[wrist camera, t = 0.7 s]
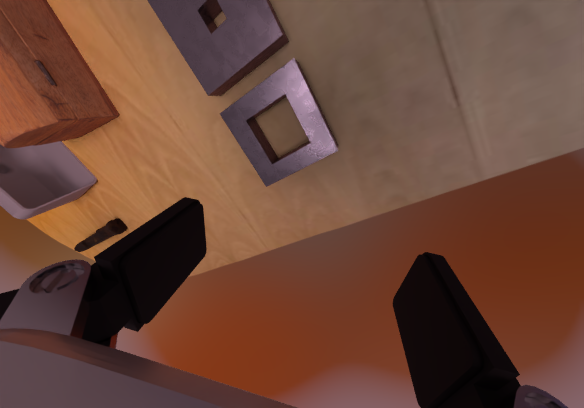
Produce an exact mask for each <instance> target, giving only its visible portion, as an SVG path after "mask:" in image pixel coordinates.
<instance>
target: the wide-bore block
mask: <svg viewBox="0 0 584 408" xmlns="http://www.w3.org/2000/svg"><path fill="white" fill-rule="evenodd" d="M285 97H287V98H288V100H289V102H290V104H291V106H292V108H293V110H294V112H295V114H296V116H297V118H298V119H299V121H300V123H301V125H302V127H303V129H304V131H305V133H306V135H307V137H308V139H309V141H308V142H307V143H305V144H303V145H301V146H299V147H298V148H296V149H294V150H292V151H290V152H289V153H287V154H285V155H283V156H281V157H280V158H278V157H277V156H276V154H275V152H274V151H273V149H272V147H271V145H270V144H269V142H268V140H267V139H266V137H265V135H264V134H263V132H262V130H261V128H260V127H259V125H258V123H257V122H256V120H255V118H256V117H257V116H259V115H260V114H262V113H263V112H265V111H266V110H268V109H269V108H270V107H272V106H273V105H275V104H276V103H278V102H279V101H281V100H282V99H284V98H285ZM220 115H221V116H222V118H223V120H224V121H225V123H226V124H227V126H228V127H229V129H230V131H231V132H232V134H233V135H234V137H235V138H236V140H237V142H238V143H239V145H240V146H241V148H242V149H243V151H244V153H245V154H246V156H247V157H248V159H249V160H250V162H251V164H252V165H253V167H254V168H255V170H256V171H257V173H258V175H259V176H260V178H261V179H262V181H263V182H264V184H265V185H266V187H267V186H269V185H271V184H273V183H275V182H277V181H279V180H281V179H283V178H285V177H287V176H289V175H291V174H293V173H295V172H297V171H299V170H301V169H303V168H304V167H306V166H308V165H310V164H312V163H314V162H316V161H318V160H320V159H322V158H324V157H326V156H328V155H330V154H332V153H334V152H336V151H338V144H337V142H336V140H335V137H334V135H333V133H332V131H331V129H330V127H329V125H328V123H327V121H326V119H325V116H324V114H323V112H322V110H321V108H320V106H319V104H318V102H317V100H316V98H315V95H314V93H313V91H312V89H311V87H310V85H309V83H308V81H307V79H306V76H305V74H304V72H303V70H302V68H301V66H300V64H299V62H298V61H297V60H295V59H294V58H293V59H292V60H291V61H289V62H288V63H287V64H285V65H284V66H283V67H281V68H280V69H279V70H277V71H276V72H275V73H273V74H272V75H271V76H269V77H268V78H267V79H265V80H264V81H263V82H261V83H260V84H259V85H257V86H256V87H255V88H253V89H252V90H251V91H249V92H248V93H247V94H245V95H244V96H243V97H241V98H240V99H239V100H237V101H236V102H235V103H233V104H232V105H231V106H229V107H228V108H227V109H225V110H224V111H223V112H221V113H220Z"/></svg>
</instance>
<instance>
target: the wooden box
mask: <svg viewBox="0 0 584 408" xmlns="http://www.w3.org/2000/svg"><path fill="white" fill-rule="evenodd" d="M118 116H119V114H118V112H117V110H116V109H115V107H114V106H113V104H112V102H111V101H110V99H109V98H108V96H107V94H106V93H105V91H104V90H103V88H102V87H101V85H100V84H99V82H98V80H97V79H96V77H95V76H94V74H93V73H92V71H91V70H90V68H89V66H88V65H87V63H86V62H85V60H84V59H83V57H82V55H81V54H80V52H79V51H78V49H77V48H76V46H75V44H74V43H73V41H72V40H71V38H70V36H69V35H68V33H67V32H66V30H65V29H64V27H63V25H62V24H61V22H60V21H59V19H58V18H57V16H56V15H55V13H54V11H53V10H52V8H51V7H50V5H49V4H48V2H47V0H0V144H1V145H2V146H3V147H5V148H20V147H26V146H32V145H33V146H37V145H43V144H49V143H54V142H58V141H64V140H69V139H74V138H78V137H81V136H83V135H85V134H87V133H89V132H91V131H93V130H94V129H96V128H98V127H100V126H102V125H104V124H106V123H107V122H109V121H111V120H113V119H115V118H117V117H118Z"/></svg>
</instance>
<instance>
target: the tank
mask: <svg viewBox="0 0 584 408" xmlns="http://www.w3.org/2000/svg"><path fill="white" fill-rule="evenodd" d="M0 173H1V174H0V206H2V207H3V208H4V209H5V210H6V211H7V212H9V213H10V214H11V215H12V216H13V217H15V218H18V219H28V218H31V217H33V216H36V215H38V214H41V213H43V212H46V211H48V210H51V209H53V208H56V207H59V206H61V205H64V204H66V203H69V202H71V201H74V200H76V199H78V198H80V197H81V196H82V195H83V194H84V193H85V192H86V191H87V190H88V189H89V188H90V187H91V186H92V185H93V184H95V183H96V181H97V178H96V177H95V176H94V175H93V174H92V173H91V172H90V171H89V170H88V169H87V168H86V167H85V166H84V165H83V163H82V162H81V161H80V160H79V159H78V158H77V157H76V156H75V155H74V154H73V153H72V152H71V151H70V150H69V149H68V148H67V147H66V146H65V145H64V144H63V142H62V141H58V142H54V143H49V144H43V145H37V146H33V145H32V146H26V147H20V148H5V147H3V146H2V145H1V144H0Z"/></svg>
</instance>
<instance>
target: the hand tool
mask: <svg viewBox="0 0 584 408" xmlns="http://www.w3.org/2000/svg"><path fill="white" fill-rule="evenodd" d="M126 229H127V226H126V225H125V224H124V223H123V222H122V221H121V220H120V219H115V220H111V221H109V222H107V224H106V226H104V227H102V228H100V229H98V230H97V231H96V233H94V234H93V235H91V236H90V237H88V238H86V239H85V240H83V241H81V242H80V243H79V244H77V245H76V246H75V251H78V252H81V251H85V250H87V249H89V248H91V247H92V246H94V245H96V244H98V243H100V242H102V241H104V240H106V239H108V238H110V237H112V236H114V235H118V234H121V233H123V232H124V231H126Z"/></svg>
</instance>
